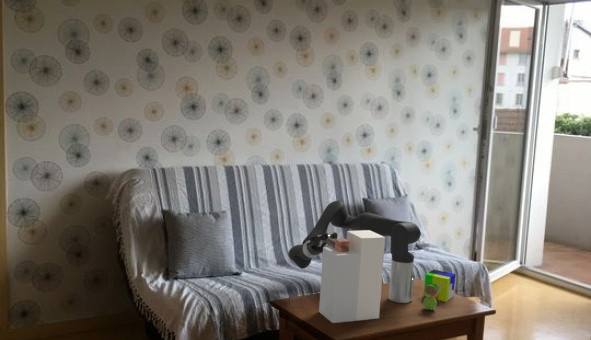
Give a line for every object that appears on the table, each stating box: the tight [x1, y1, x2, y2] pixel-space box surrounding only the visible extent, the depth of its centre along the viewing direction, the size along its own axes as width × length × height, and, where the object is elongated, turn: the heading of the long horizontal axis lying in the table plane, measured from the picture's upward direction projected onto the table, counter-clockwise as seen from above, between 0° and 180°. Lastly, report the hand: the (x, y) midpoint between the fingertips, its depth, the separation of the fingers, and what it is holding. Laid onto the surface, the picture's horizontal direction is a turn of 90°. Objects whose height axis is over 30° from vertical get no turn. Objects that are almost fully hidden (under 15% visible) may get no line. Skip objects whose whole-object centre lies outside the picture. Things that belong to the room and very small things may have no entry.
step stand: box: [318, 230, 386, 324], centre depth 239 cm, size 20×12×32 cm, turn 113°
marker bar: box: [323, 236, 350, 252], centre depth 241 cm, size 4×16×4 cm, turn 23°
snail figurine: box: [422, 282, 441, 311], centre depth 251 cm, size 5×6×12 cm
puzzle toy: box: [423, 269, 456, 302], centre depth 270 cm, size 10×10×10 cm
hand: (331, 234), depth 244 cm, fingers open, 3 cm apart
